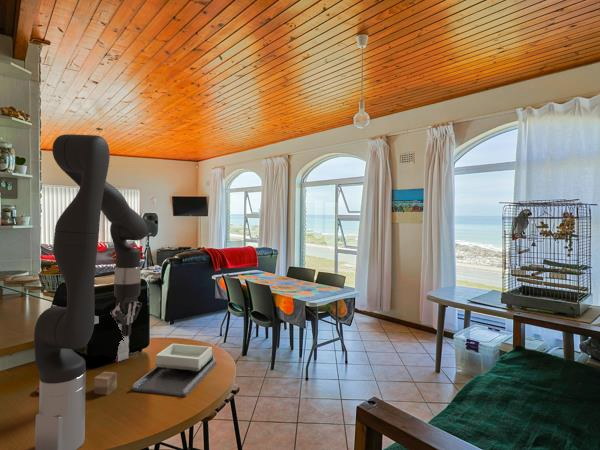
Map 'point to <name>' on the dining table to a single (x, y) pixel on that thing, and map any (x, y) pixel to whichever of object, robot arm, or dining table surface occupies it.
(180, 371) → the dark rimmed tray
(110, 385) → the light brown block
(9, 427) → the dining table surface
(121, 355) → the candy bar box
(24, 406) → the dining table surface
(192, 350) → the white box on tray
